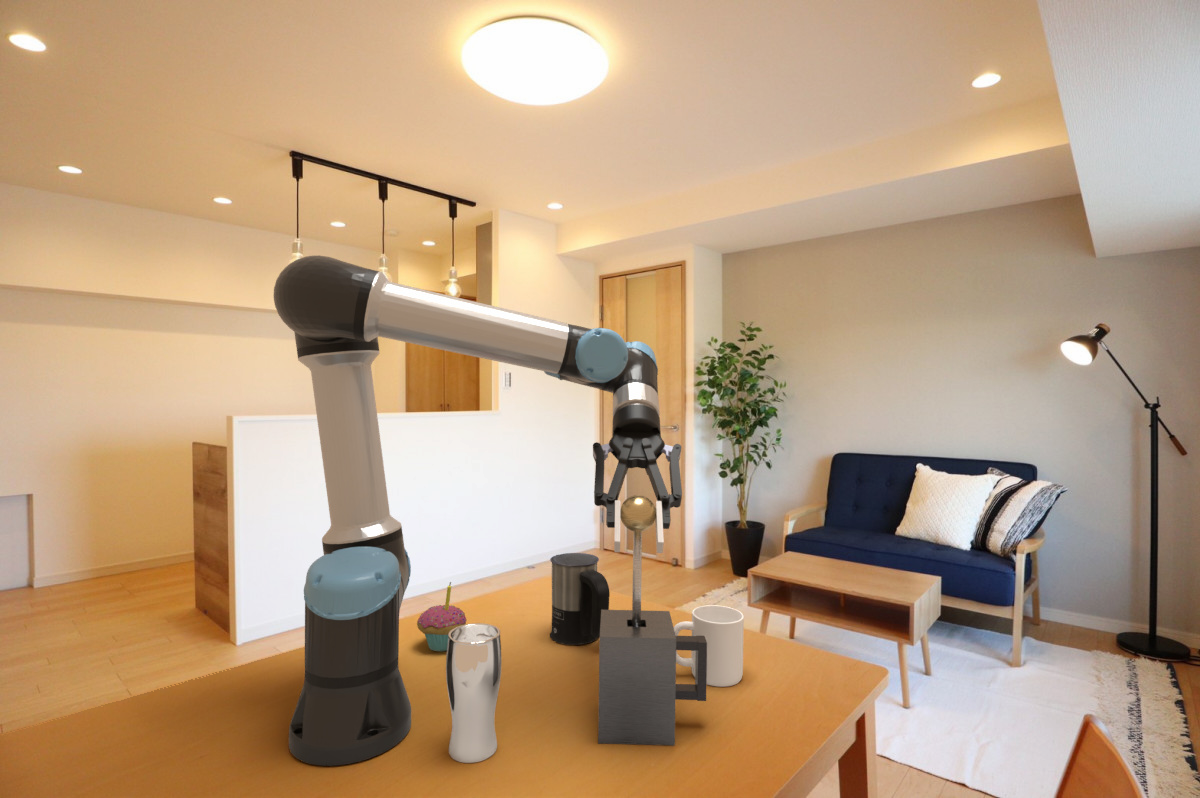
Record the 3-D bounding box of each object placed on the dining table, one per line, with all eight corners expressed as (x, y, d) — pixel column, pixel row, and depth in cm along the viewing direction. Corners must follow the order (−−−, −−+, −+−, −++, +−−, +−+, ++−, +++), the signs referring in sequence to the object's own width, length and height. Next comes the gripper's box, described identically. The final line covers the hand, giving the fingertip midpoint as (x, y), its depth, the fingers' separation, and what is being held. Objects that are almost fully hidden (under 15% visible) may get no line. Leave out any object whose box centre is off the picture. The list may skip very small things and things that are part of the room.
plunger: (606, 665, 80) (609, 499, 80) (607, 640, 88) (609, 490, 88) (667, 666, 80) (669, 500, 80) (662, 641, 88) (664, 491, 88)
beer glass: (473, 772, 73) (475, 648, 72) (433, 753, 76) (434, 635, 76) (511, 744, 78) (513, 629, 78) (472, 728, 82) (473, 618, 82)
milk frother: (539, 638, 113) (540, 559, 113) (588, 613, 126) (589, 542, 126) (601, 658, 105) (602, 573, 105) (647, 629, 118) (648, 553, 118)
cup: (749, 687, 95) (750, 623, 95) (674, 688, 94) (675, 624, 94) (734, 663, 103) (735, 604, 103) (664, 665, 102) (665, 605, 102)
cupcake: (475, 643, 110) (476, 578, 110) (440, 660, 103) (441, 590, 103) (442, 633, 115) (443, 570, 114) (406, 648, 107) (407, 581, 107)
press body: (598, 743, 79) (599, 636, 79) (600, 704, 89) (601, 609, 89) (710, 746, 79) (711, 639, 79) (699, 706, 89) (700, 611, 89)
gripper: (690, 434, 99) (703, 563, 82) (580, 433, 99) (572, 560, 83) (695, 402, 93) (710, 533, 77) (578, 401, 94) (569, 530, 77)
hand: (638, 546), depth 80 cm, fingers closed on plunger, 5 cm apart
